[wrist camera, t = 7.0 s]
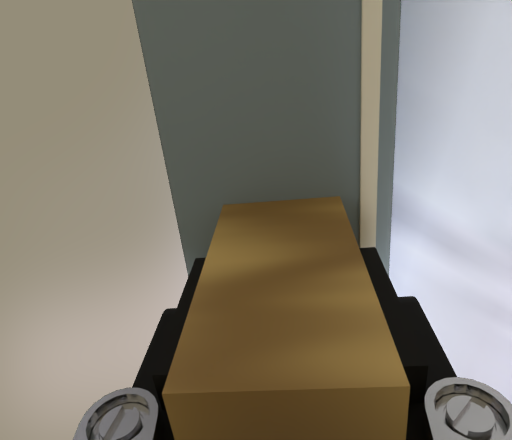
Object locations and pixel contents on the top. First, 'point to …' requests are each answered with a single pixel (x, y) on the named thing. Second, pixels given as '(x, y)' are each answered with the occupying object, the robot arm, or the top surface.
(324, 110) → the grey-blue slab
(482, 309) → the top surface
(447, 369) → the robot arm
